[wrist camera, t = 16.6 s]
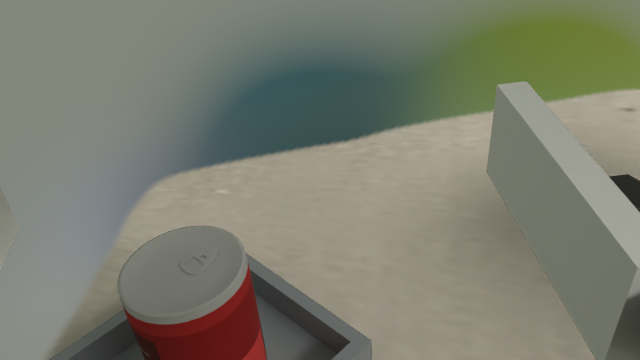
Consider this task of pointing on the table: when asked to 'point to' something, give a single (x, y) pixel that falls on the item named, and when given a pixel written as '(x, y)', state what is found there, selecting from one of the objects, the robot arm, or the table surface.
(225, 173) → the table surface
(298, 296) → the tray
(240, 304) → the canned food
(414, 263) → the table surface
